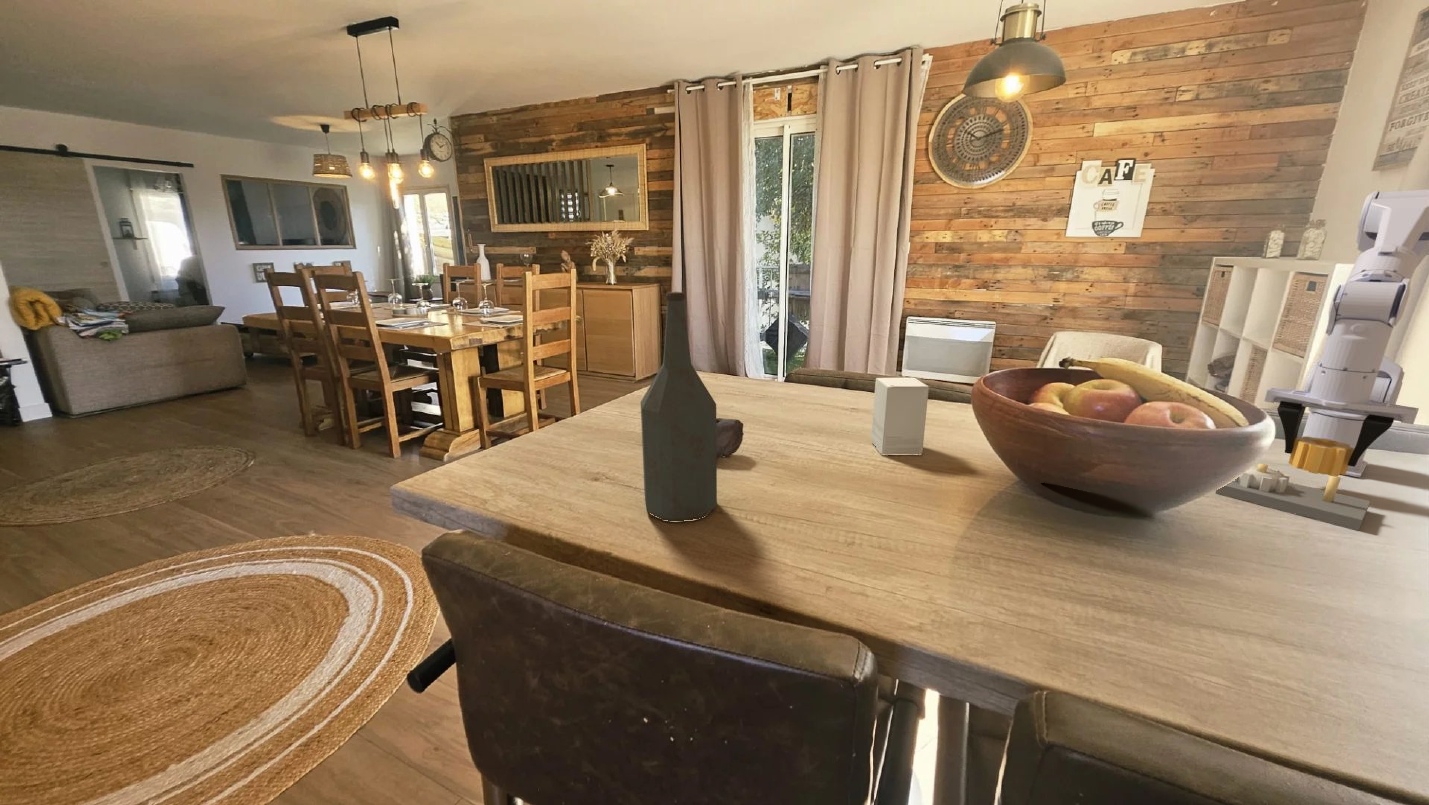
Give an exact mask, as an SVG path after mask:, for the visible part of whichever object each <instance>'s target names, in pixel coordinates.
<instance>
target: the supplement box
mask: <svg viewBox="0 0 1429 805" xmlns="http://www.w3.org/2000/svg"><path fill="white" fill-rule="evenodd" d="M874 383H875V385H874V397H873V412H872V422H871V423H872V424H871V436H870V437H871V438H870V442H871V441H872V443H874V445H875V446H876V447H877V449H878V450H879V451H880V452H881V454H918V455H919V454H922V455H923V450H924V449H923V448H924V440H925V432H926V431H925V430H926V429H925V428H926V419H927V410H928V409H927V408H928V401H929V400H928V399H929V389H930V387H929V385H927V384H926V383H924V382H922V381H921V380H919V379H918V378H916V377H876V378H875V382H874ZM872 443H871V444H872ZM874 445H873V446H874ZM875 446H874V447H875ZM877 449H876V450H877ZM878 450H877V451H878ZM879 451H878V452H879ZM880 452H879V453H880ZM881 454H880V455H881Z"/></svg>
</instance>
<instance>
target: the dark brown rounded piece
mask: <svg viewBox="0 0 1429 805" xmlns="http://www.w3.org/2000/svg"><path fill="white" fill-rule="evenodd" d="M744 435H745V433H744V423H743V422H742V421H741V420H739V419H736V418H735V419H734V418H722V417H716V442H717V457H718V456H720V457H721V455H722V456H725V457H724V458H729V456H730V457H731V456H732V455H734V454H735V453H736V452H738V449H739V448H740V447H741V445H742V443H743V439H744ZM733 453H734V454H733Z"/></svg>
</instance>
